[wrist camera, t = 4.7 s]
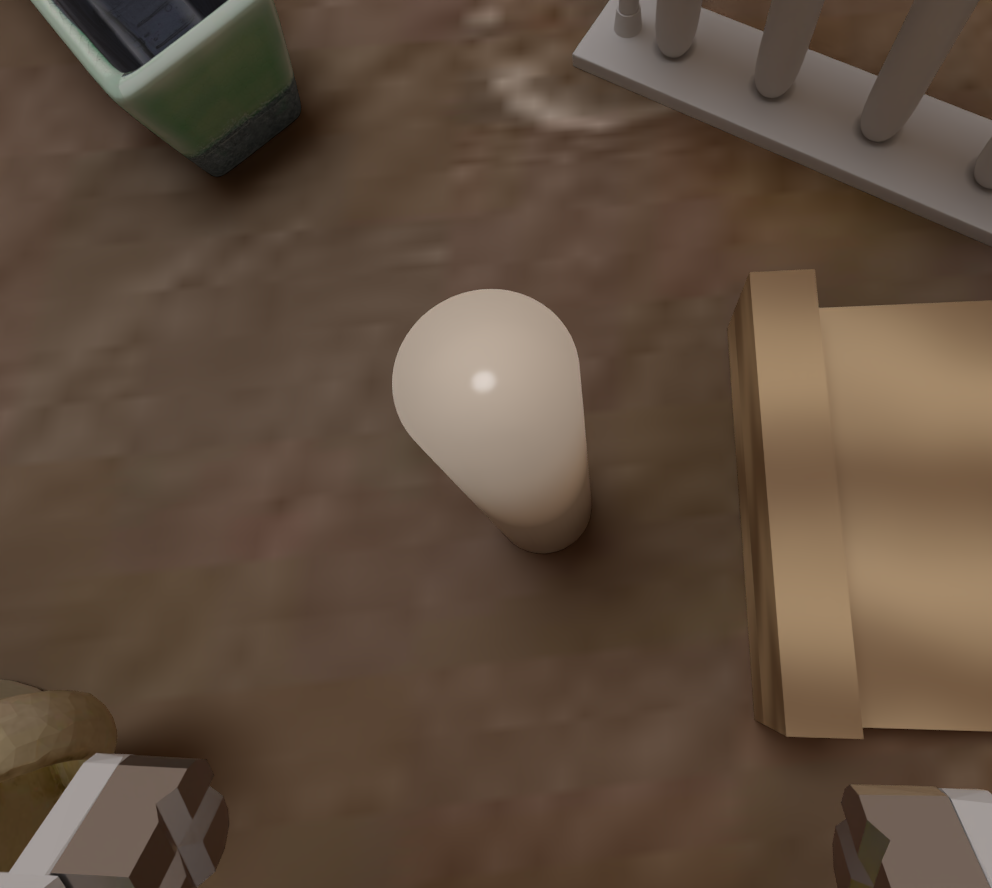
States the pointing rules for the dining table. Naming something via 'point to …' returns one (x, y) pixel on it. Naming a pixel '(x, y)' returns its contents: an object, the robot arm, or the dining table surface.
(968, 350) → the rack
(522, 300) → the clay rod
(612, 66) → the test tube rack
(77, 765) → the sugar bowl
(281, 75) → the planter
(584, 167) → the dining table surface
